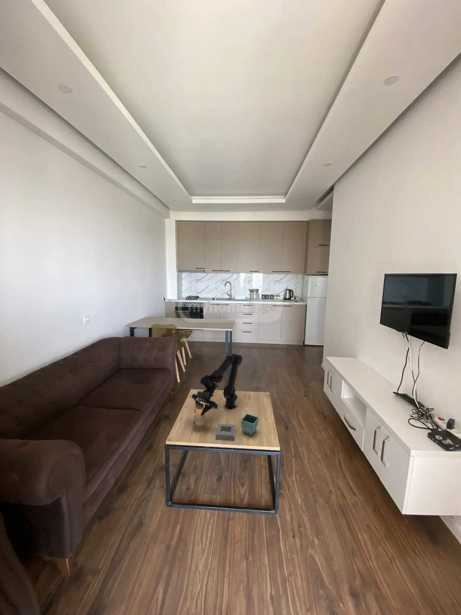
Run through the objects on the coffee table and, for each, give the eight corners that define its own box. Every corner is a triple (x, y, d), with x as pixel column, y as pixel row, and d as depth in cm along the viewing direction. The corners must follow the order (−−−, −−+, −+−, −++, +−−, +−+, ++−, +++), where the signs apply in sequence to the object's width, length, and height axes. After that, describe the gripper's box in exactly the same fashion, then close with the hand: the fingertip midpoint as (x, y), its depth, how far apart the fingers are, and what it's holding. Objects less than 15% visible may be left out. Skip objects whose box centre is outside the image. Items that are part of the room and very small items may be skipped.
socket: (218, 428, 161) (218, 423, 161) (235, 429, 160) (235, 424, 160) (215, 439, 150) (215, 434, 150) (234, 440, 150) (234, 435, 149)
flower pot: (258, 430, 160) (259, 417, 159) (253, 438, 152) (253, 424, 151) (246, 426, 164) (246, 413, 163) (240, 433, 156) (240, 420, 155)
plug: (204, 419, 164) (205, 402, 163) (205, 425, 157) (205, 407, 155) (193, 420, 163) (193, 402, 161) (193, 426, 156) (193, 408, 154)
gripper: (193, 382, 166) (180, 404, 158) (215, 390, 155) (203, 414, 147) (201, 389, 173) (189, 411, 166) (222, 397, 162) (211, 421, 155)
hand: (198, 414), depth 158 cm, fingers closed on plug, 5 cm apart
